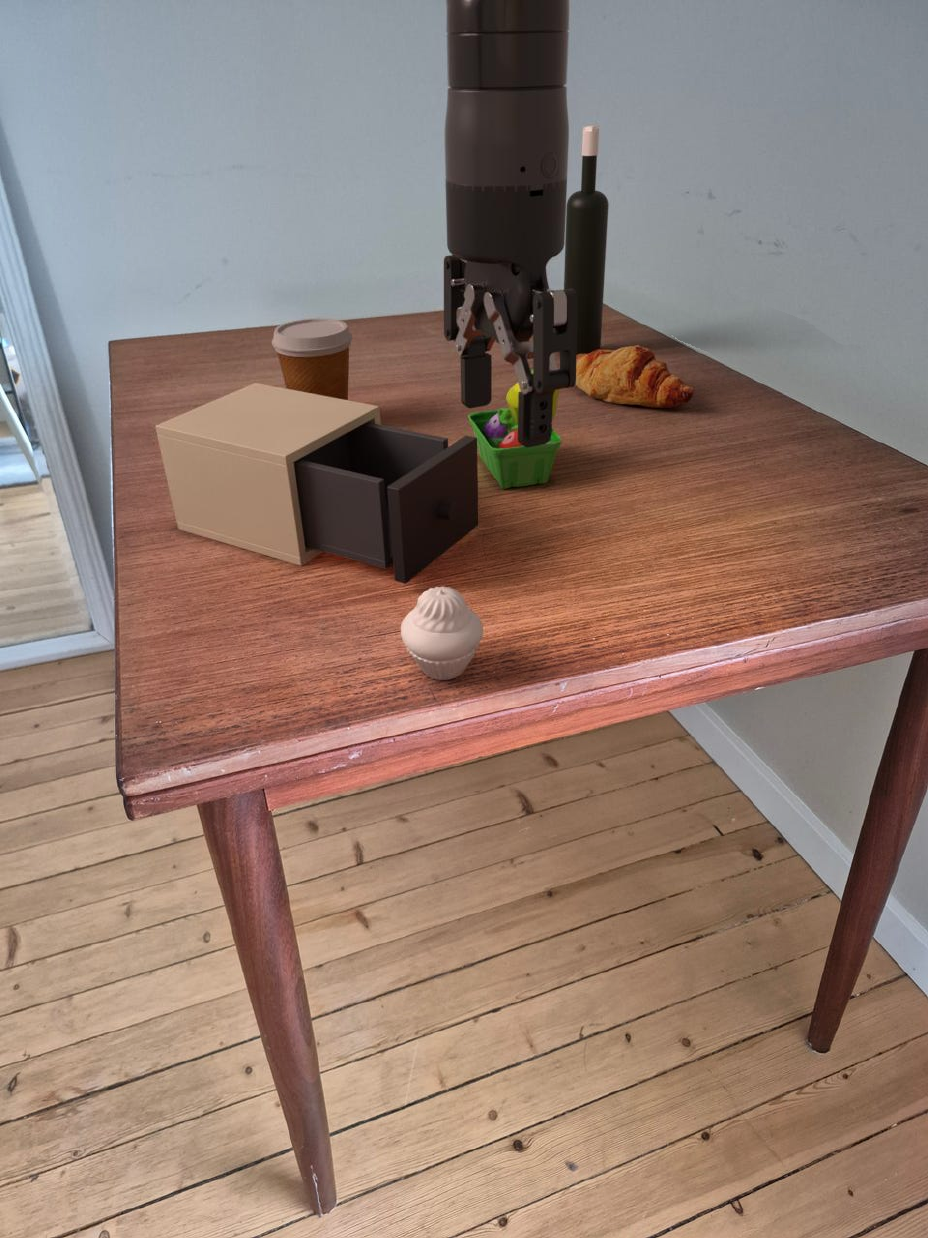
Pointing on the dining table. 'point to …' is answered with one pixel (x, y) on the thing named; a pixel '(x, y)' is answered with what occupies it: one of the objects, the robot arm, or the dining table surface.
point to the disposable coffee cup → (314, 356)
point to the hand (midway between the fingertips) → (504, 423)
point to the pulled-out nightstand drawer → (388, 497)
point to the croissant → (630, 378)
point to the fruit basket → (512, 445)
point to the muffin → (442, 633)
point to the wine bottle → (587, 247)
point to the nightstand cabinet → (251, 464)
